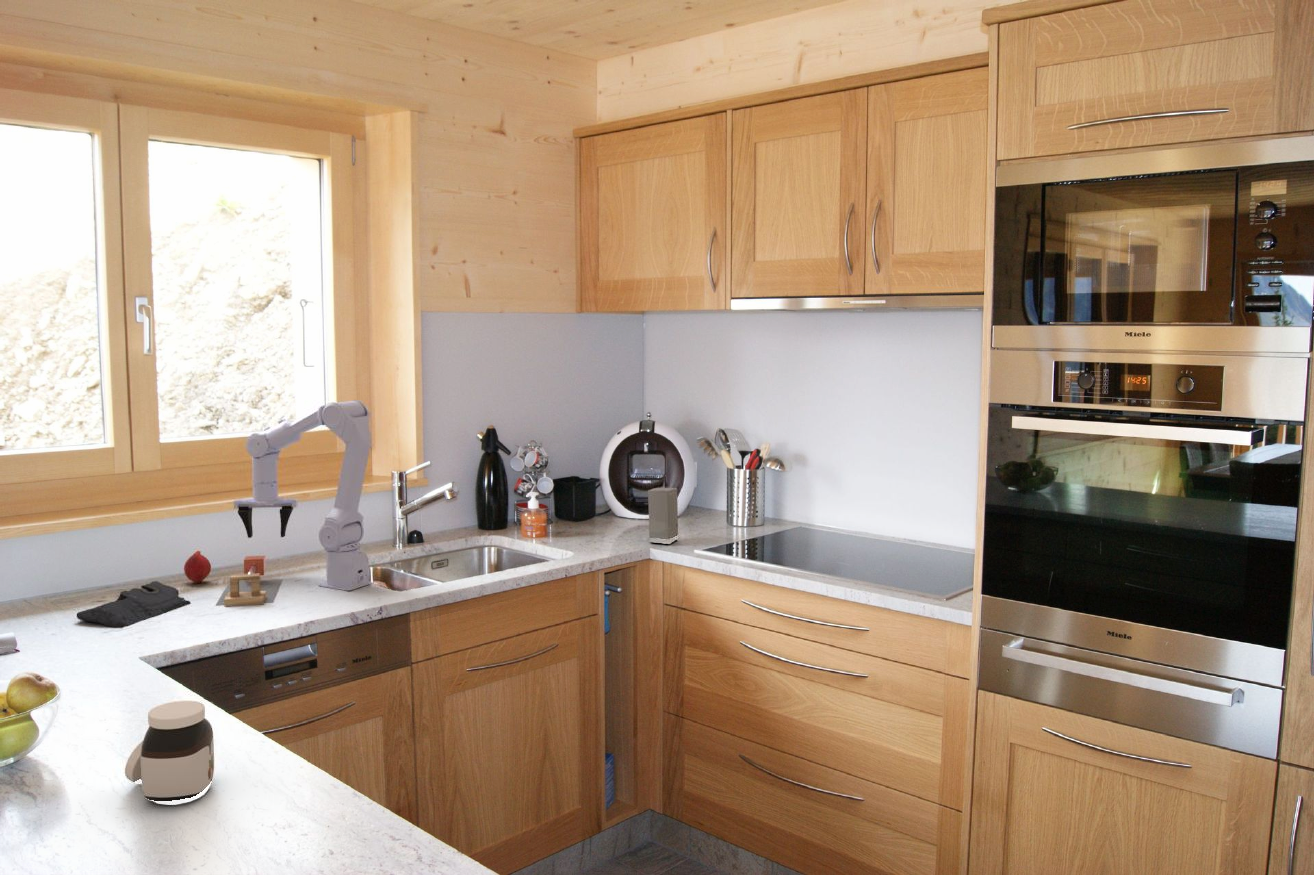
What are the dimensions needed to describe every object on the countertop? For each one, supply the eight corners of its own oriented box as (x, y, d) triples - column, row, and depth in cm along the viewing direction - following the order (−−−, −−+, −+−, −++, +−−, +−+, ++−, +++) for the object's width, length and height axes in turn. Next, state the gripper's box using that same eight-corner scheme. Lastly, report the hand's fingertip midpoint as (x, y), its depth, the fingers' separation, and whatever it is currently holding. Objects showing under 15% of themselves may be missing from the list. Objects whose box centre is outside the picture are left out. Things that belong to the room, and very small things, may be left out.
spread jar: (195, 811, 134) (192, 723, 133) (104, 813, 133) (100, 725, 132) (226, 771, 146) (224, 690, 145) (143, 773, 145) (139, 692, 144)
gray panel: (273, 603, 232) (273, 602, 232) (215, 606, 229) (215, 605, 229) (282, 579, 253) (282, 578, 253) (229, 582, 250) (229, 581, 250)
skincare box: (669, 546, 297) (670, 491, 296) (646, 543, 300) (646, 489, 298) (679, 540, 305) (680, 487, 304) (656, 538, 308) (657, 485, 306)
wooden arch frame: (263, 604, 230) (262, 577, 230) (224, 606, 228) (223, 579, 228) (266, 597, 236) (265, 571, 235) (228, 599, 234) (227, 573, 233)
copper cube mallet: (257, 588, 236) (257, 571, 235) (236, 589, 235) (236, 572, 234) (265, 571, 251) (265, 555, 251) (246, 572, 250) (245, 556, 250)
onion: (201, 587, 245) (199, 553, 244) (179, 585, 246) (178, 552, 245) (216, 581, 251) (215, 548, 250) (194, 579, 252) (193, 547, 251)
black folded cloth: (63, 625, 215) (62, 602, 215) (140, 598, 236) (140, 578, 236) (125, 631, 211) (124, 608, 211) (198, 603, 232) (197, 583, 232)
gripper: (229, 484, 248) (231, 540, 250) (293, 483, 251) (294, 539, 252) (236, 480, 255) (238, 534, 257) (298, 479, 258) (299, 533, 259)
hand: (266, 536), depth 255 cm, fingers open, 7 cm apart
